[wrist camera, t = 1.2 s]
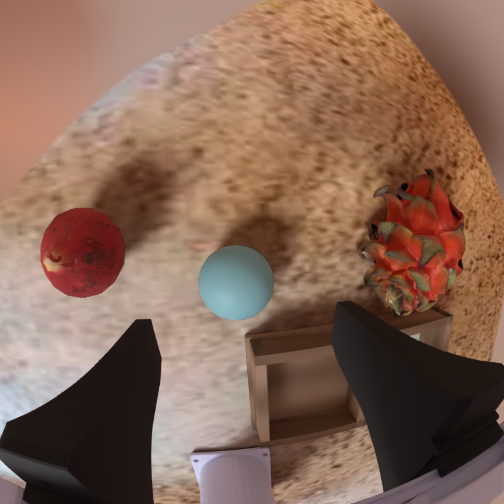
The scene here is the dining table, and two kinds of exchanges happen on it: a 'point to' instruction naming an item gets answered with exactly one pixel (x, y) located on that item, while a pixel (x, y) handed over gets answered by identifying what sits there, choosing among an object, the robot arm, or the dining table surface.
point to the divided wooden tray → (316, 378)
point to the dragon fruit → (415, 246)
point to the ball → (236, 282)
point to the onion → (82, 252)
